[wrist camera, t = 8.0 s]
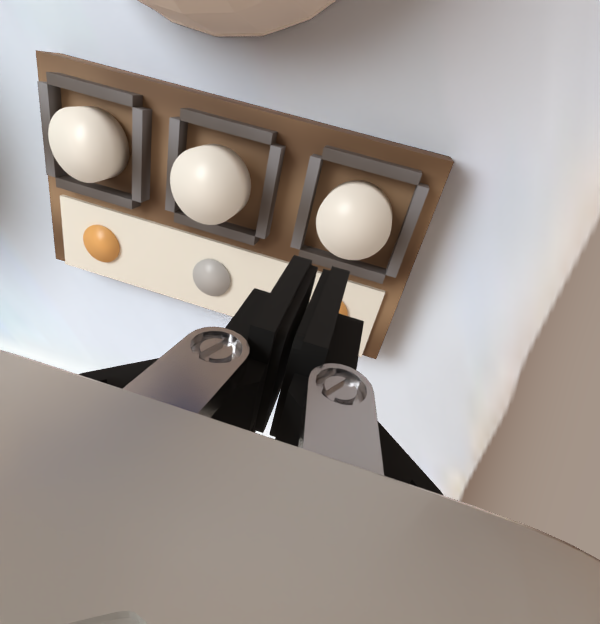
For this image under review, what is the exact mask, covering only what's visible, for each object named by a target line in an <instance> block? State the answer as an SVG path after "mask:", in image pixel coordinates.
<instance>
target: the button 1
mask: <svg viewBox="0 0 600 624" xmlns="http://www.w3.org/2000/svg"><path fill="white" fill-rule="evenodd" d="M48 138H49V144H50V147H51V150H52V153H53V155H54V157H55V159H56V161H57V162H58V163H59V165H60V166H61V167H62V169H63V170H64V171H65V172H66V173H68V174H69V175H70V176H72V177H73V178H75V179H77V180H79V181H82V182H86V183H94V182H98V181H102V180H105V179H109V178H112V177H115V176H118V175H119V174H120V173H121V172H122V171H123V170H124V169H125V167H126V165H127V163H128V159H129V145H128V141H127V137H126V135H125V132H124V130H123V128H122V127H121V125H120V124H119V122H118V121H117V120H116V119H115V118H114V117H113V116H112V115H111V114H110V113H108V112H107V111H105V110H103V109H102V108H99V107H95V106H76V107H65V108H62V109H60V110H58V111H57V112H56V113H55V114H54V115H53V117H52V119H51V121H50V124H49V129H48Z"/></svg>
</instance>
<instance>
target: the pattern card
mask: <svg viewBox="0 0 600 624" xmlns="http://www.w3.org/2000/svg"><path fill="white" fill-rule="evenodd" d="M60 206H61V217H62V229H63V241H64V253H65V264H67V265H71V266H74V267H77V268H80V269H83V270H86V271H90V272H93V273H96V274H99V275H102V276H106V277H109V278H112V279H115V280H118V281H121V282H125V283H128V284H131V285H134V286H137V287H140V288H144V289H147V290H150V291H153V292H156V293H159V294H163V295H166V296H169V297H172V298H175V299H179V300H182V301H185V302H188V303H191V304H194V305H198V306H201V307H204V308H207V309H210V310H213V311H217V312H220V313H223V314H226V315H229V316H232V317H234V315H235V314H236V312H237V311H238V310H239V308H240V307H241V305H242V304H243V303H244V301H245V300H246V299H247V297H248V296H249V294H250V293H251V292H252V290H253V289H254V288H256V289H259V290H263V291H266V292H269V293H270V292H271V291H272V289H273V288H274V286H275V284H276V283H277V281H278V280H279V278H280V276H281V275H282V273H283V272H284V270H285V268H286V267H287V265H288V264H289V262H287V261H284V260H281V259H277V258H274V257H270V256H267V255H264V254H260V253H257V252H254V251H250V250H247V249H244V248H240V247H237V246H234V245H230V244H227V243H224V242H220V241H217V240H214V239H210V238H207V237H204V236H200V235H197V234H194V233H190V232H187V231H184V230H180V229H177V228H173V227H170V226H167V225H163V224H160V223H157V222H153V221H150V220H147V219H143V218H140V217H137V216H133V215H130V214H127V213H123V212H120V211H117V210H113V209H110V208H107V207H103V206H100V205H97V204H93V203H90V202H87V201H83V200H80V199H76V198H73V197H70V196H66V195H60ZM321 273H322V272H321V271H317V274H316V278H315V282H314V285H313V289H312V293H311V297H312V295H313V292H314V290H315V288H316V285H317V283H318V281H319V278H320V276H321ZM384 294H385V291H384V290H381V289H378V288H374V287H371V286H367V285H364V284H361V283H357V282H354V281H351V280H348V281H347V285H346V288H345V292H344V295H343V299H342V303H341V306H340V310H339V314H342V315H346V316H349V317H352V318H356V319H359V320H362V321H364V325H363V331H362V337H361V343H360V349H359V357H362V354H363V351H364V349H365V346H366V343H367V340H368V338H369V335H370V332H371V330H372V327H373V324H374V321H375V319H376V316H377V313H378V311H379V308H380V305H381V303H382V300H383V297H384ZM311 297H310V299H311ZM309 302H310V301H309Z"/></svg>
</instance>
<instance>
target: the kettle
mask: <svg viewBox="0 0 600 624" xmlns="http://www.w3.org/2000/svg"><path fill="white" fill-rule="evenodd" d="M138 1H140V2H141V3H143V4H145V5H147V6H148V7H150V8H152V9H154V10H155V11H157V12H158V13H160V14H161V15H162V16H164V17H165V18H167V19H168V20H170V21H171V22H173V23H176V24H179V25H183V26H186V27H189V28H192V29H195V30H198V31H201V32H204V33H207V34H210V35H213V36H216V37H222V36H264V35H267V34H270V33H273V32H276V31H279V30H282V29H284V28H287V27H290V26H293V25H296V24H299V23H302V22H304V21H307V20H310V19H311V18H313V17H314V16H316V15H317V14H318V13H320V12H321V11H322V10H324V9H325V8H327V7H328V6H329V5H331V4H332V3H333V2H335V1H336V0H138Z"/></svg>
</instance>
